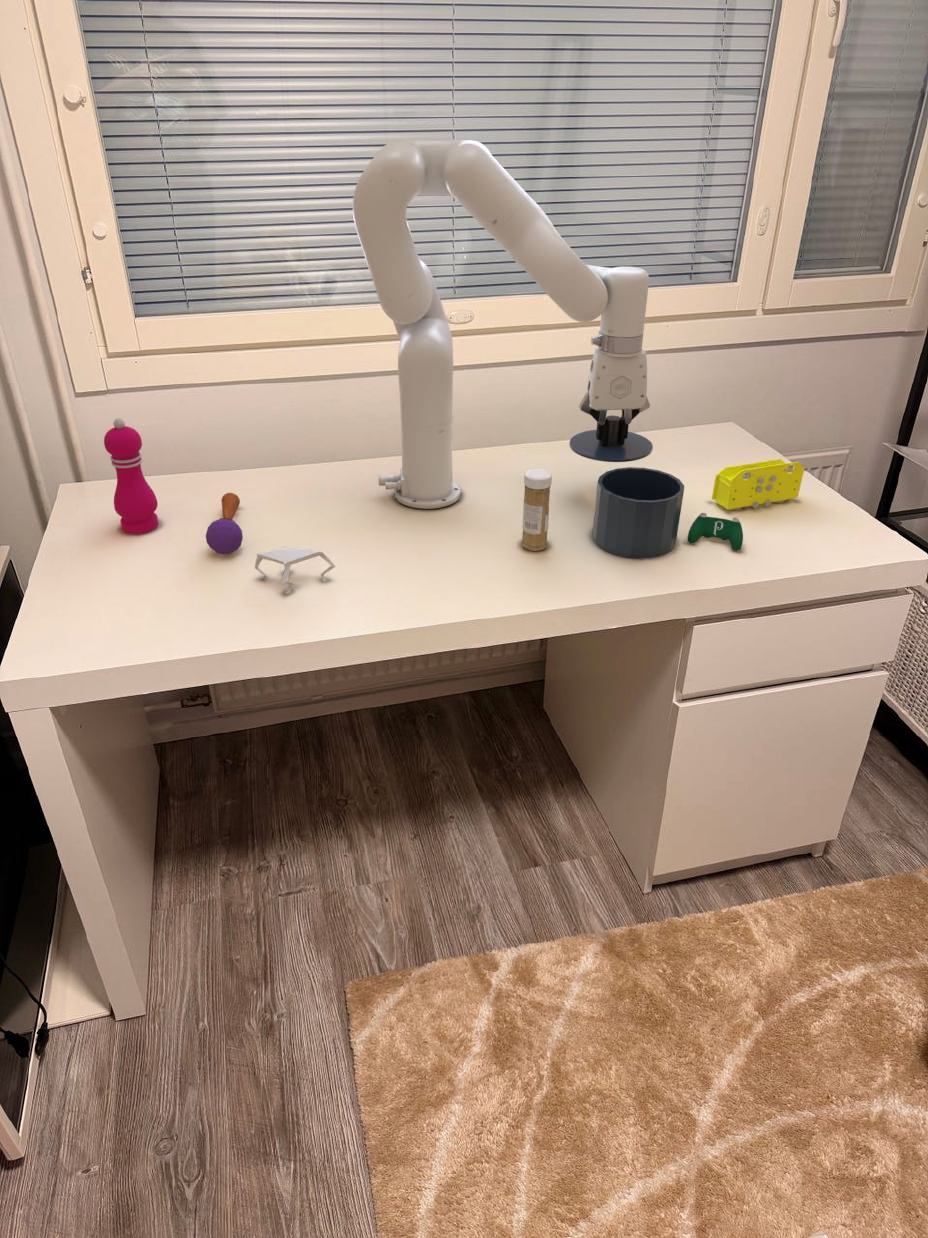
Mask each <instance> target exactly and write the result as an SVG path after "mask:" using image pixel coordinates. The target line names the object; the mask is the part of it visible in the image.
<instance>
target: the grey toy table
mask: <svg viewBox="0 0 928 1238" xmlns="http://www.w3.org/2000/svg"><path fill="white" fill-rule="evenodd" d="M317 557H320V558H322V559H323V560H324V561H325V562H326V563H328V564H329V565H330V566H329V567H327V568H326V569H325V570H323V571H322V572H321V573H320V577H321V579H322V582H324V583H325V582H327V578H326V577H325V574H326V573H328V572H330V571H331V570H333V569H334V568H336V565H335V564H334V563H333V562H332V561H331V559H330V558H329V557H328V555H326V554H325V553H324V552H323V551H321V550H316V549H311V548H307V547H289V546H283V547H279V548H275V549H271V550H268V551H264V552H260V553H256V559H255V561H254V569H255V570H256V571H257V572H258V573H260V574H261V575H262V577H261V578H260V579H261V580H265V579H266V578H267V577H268V575H267V574H266V573H265V572H264V571H263V570H262V569H261V568H260V567H259V566H260V564H261V562H262V561H263V560H267V561H271V562H274V563H278V564H280V565H283V566H284V571H283V574H282V578H281V584H282V585H287V588H286V590H285V592H284V594H285V595H288V594H290V593H291V592H292V589H293V587H294V583H293V582H292V581H290V580H289V578H290V577H289V576H290V573H291V566H292V565H295V564H298V563H301V562H305V561H308V560H310V559H313V558H317Z"/></svg>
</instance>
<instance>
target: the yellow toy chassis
mask: <svg viewBox="0 0 928 1238" xmlns="http://www.w3.org/2000/svg"><path fill="white" fill-rule="evenodd" d="M804 473H805V467H804V466H803V465H802V464H801V463H800V462H799V461H792V462H785V461H783V459H781V458H778V459H771V460H764V461H758V462H751V463H743V464H738V465H731V466H725V467H724V468H723V469H721V470H720V471H719V472H718V473H716V474H715V478H714V483H713V488H712V489H713V490H712V494H711V500H715V502H716V503H717V504H718V505H719V506H721V507H722V508H724V509H725V510H727V511H728V510H731V511H740V510H742V509H743V508H744V507H751V506H752V508H754V509H758V508H759V506H760V505H763V504H764V505H765V506H766V507H769V506H771V505H772V503H775V504H782V503H785V501H787V500H793V499H798V498H799V493H800V490H801V485H802V481H803V476H804Z"/></svg>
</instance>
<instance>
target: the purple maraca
mask: <svg viewBox="0 0 928 1238" xmlns="http://www.w3.org/2000/svg"><path fill="white" fill-rule="evenodd" d="M220 500H221V509H222V517H220V518H219V519H218V518H217V519H216V520H214V521H212V522H211V523H210V524H209V525H208V526H207V529H206V533H205V541H206V544H207V545H208V547H209V549H211V550H212V551H214V552H215V553H216V554H221V555H230V554H232V553H235V552H237V551H238V550H239V548H240V547H241V546H242V542H243V539H244V536H243V530H242V528H241V527H240V525H239V524H238V523H236V521H235V520H234V519H233V518H234V516H235V514H236V513H237V511H238V508H239V506H240V505H241V500H240V497H239V496H238V495H237V494H236V493H233V492H226V493H225V494H223V495H222V497H221V499H220Z"/></svg>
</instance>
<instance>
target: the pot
mask: <svg viewBox="0 0 928 1238" xmlns="http://www.w3.org/2000/svg"><path fill="white" fill-rule="evenodd" d="M684 492H685V485H684V483H683V482H682V481H681V479H680V478H678V477H676V476H674V475H673V474H671V473H668V472H665V471H662V470H659V469H653V468H647V467H636V466H635V467H633V466H631V467H629V466H627V467H619V468H614V469H610V470H608V471H605V472H603V473H602V474H601V475H600V476H599V477H598V480H597V485H596V495H595V503H594V504H595V506H594V514H593V515H594V516H593V525H592V539H593V542H594V543H595V545H597V546H598V548H600V549H602V550H603V551H605V552H607V553H609V554H611V555H615V556H619V557H622V558H627V559H628V558H629V559H653V558H654V559H655V558H659V557H662V556H665V555H668V554H670V553H671V552H672V551H673V550H674V549H675V548H676V547H675V546H676V545H677V539H678V532H679V527H680V525H679V524H680V520H681V512H682V505H683V499H684V494H685V493H684Z"/></svg>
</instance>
